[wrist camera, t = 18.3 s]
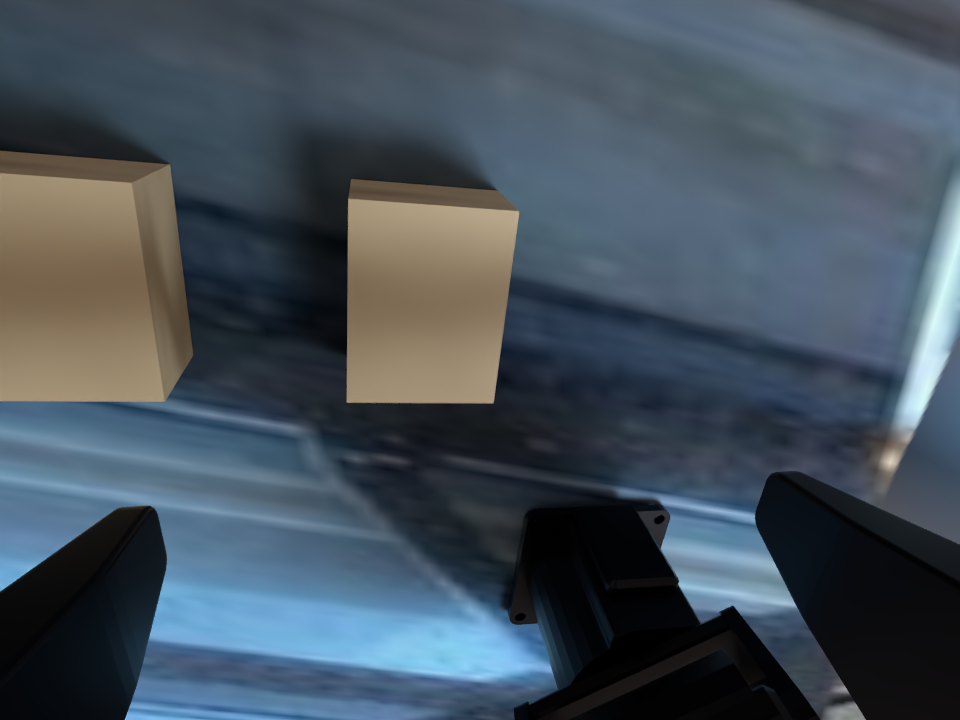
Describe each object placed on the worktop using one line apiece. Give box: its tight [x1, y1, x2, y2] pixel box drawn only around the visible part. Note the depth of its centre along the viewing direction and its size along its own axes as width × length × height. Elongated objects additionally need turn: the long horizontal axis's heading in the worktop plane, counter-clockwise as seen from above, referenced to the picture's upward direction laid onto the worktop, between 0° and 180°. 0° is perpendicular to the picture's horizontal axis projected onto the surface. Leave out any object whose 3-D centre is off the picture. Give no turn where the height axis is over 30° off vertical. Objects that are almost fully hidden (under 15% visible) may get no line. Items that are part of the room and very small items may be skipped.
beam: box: [0, 151, 519, 403], centre depth 17 cm, size 6×14×3 cm, turn 84°
